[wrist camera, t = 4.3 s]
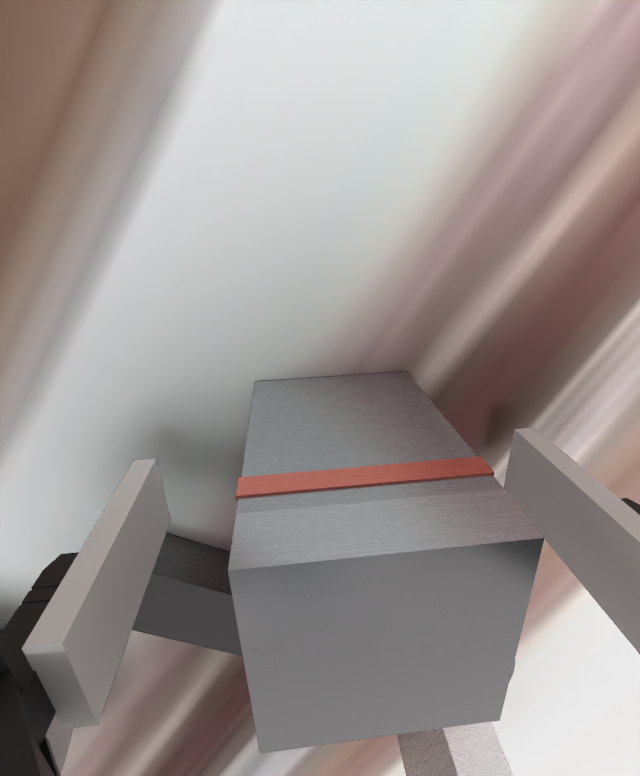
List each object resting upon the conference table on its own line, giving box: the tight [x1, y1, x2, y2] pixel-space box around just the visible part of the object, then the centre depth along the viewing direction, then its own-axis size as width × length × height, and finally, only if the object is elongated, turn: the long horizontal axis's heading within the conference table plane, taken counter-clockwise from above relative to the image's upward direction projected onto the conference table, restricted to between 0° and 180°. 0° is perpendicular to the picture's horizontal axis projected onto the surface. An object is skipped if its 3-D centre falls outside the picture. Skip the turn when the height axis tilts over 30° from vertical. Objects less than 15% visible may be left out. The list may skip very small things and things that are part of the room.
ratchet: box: [132, 533, 515, 776], centre depth 17 cm, size 20×9×8 cm, turn 62°
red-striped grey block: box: [228, 371, 544, 753], centre depth 13 cm, size 6×6×9 cm
